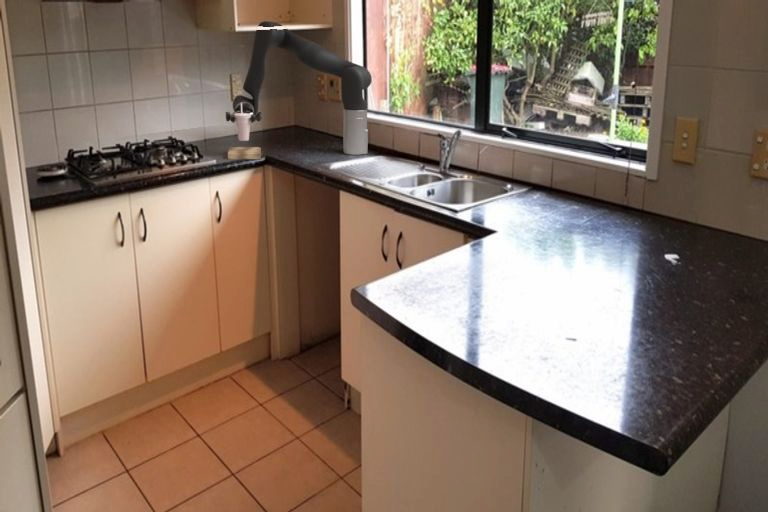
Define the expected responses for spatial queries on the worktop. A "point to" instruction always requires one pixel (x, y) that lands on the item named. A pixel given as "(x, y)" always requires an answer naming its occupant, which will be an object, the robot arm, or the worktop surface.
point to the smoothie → (243, 125)
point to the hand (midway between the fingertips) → (242, 119)
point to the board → (244, 153)
